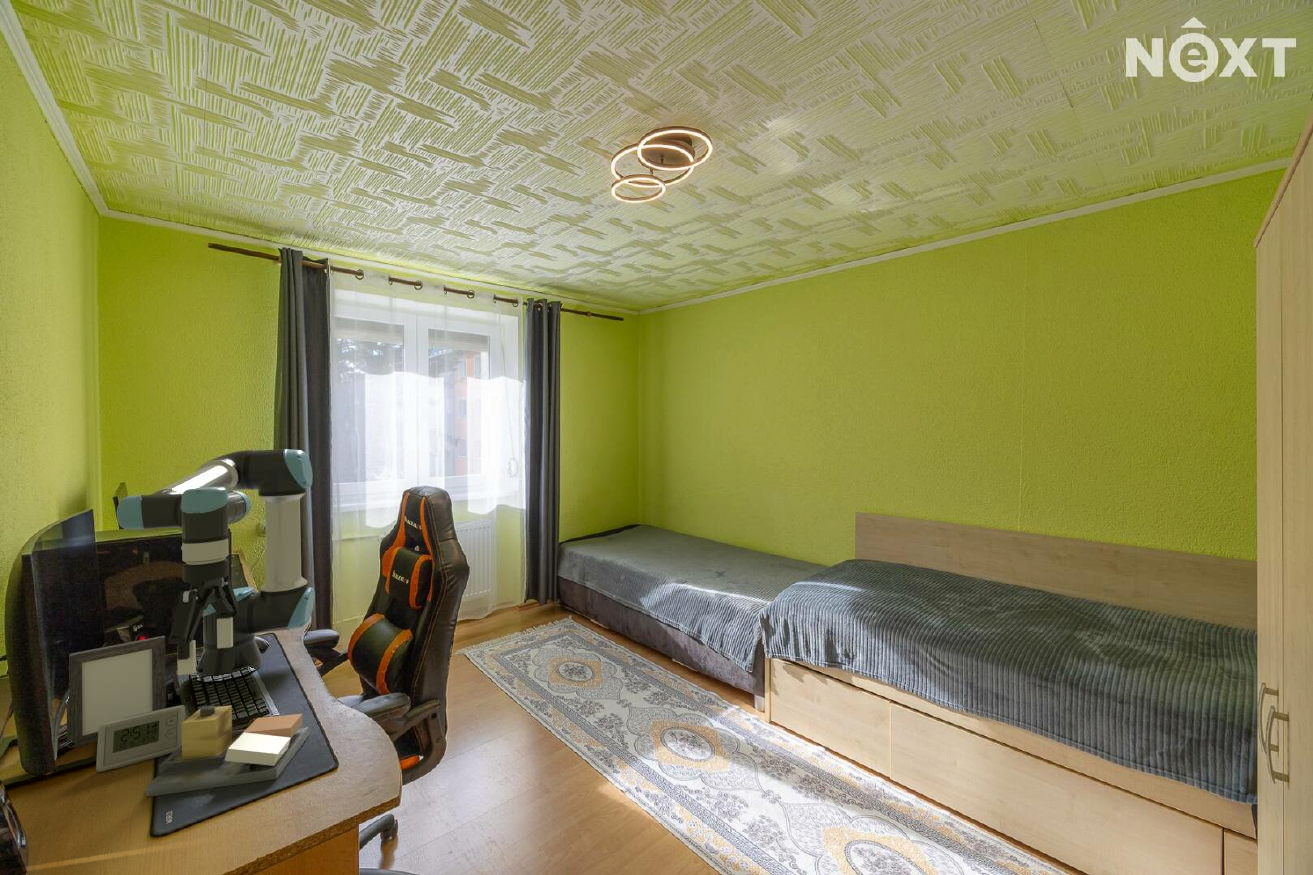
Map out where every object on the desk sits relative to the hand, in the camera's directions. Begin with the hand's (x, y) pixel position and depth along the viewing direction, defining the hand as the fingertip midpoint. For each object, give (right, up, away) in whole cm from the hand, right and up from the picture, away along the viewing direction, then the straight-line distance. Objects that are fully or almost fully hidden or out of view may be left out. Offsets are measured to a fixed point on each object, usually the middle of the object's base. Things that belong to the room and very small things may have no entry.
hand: (207, 659), depth 113 cm
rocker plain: (+13, -18, -3) cm, 23 cm away
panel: (+7, -22, -1) cm, 23 cm away
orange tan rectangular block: (+11, -18, +4) cm, 22 cm away
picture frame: (-29, -22, +10) cm, 38 cm away
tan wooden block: (0, -20, 0) cm, 20 cm away
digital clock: (-15, -22, +2) cm, 27 cm away
